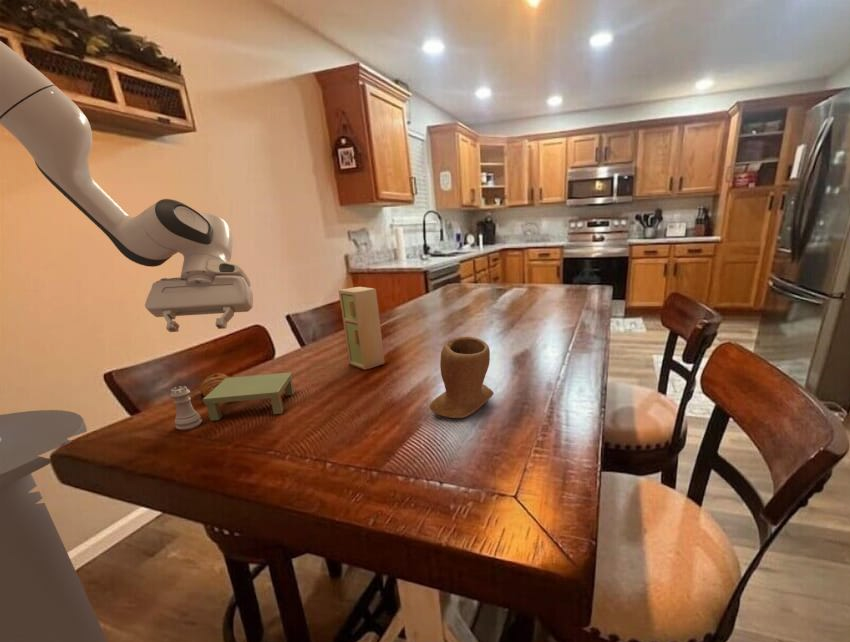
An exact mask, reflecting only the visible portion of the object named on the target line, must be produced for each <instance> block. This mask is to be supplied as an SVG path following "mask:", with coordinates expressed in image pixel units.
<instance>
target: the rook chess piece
mask: <svg viewBox="0 0 850 642" xmlns="http://www.w3.org/2000/svg"><path fill="white" fill-rule="evenodd" d="M190 392H191V390H190V389H189V388H188V387H187V386H186V385H183V386H182V385H181V386H178V388H177V387H176V386H175V387H173V388H171V389H170V394H169V396H170V397H171V398H172V399H173V404H174V405H175V409H176V411H175V412H176V415H175V418H174V424H175V426H174V427H175V428H176V429H177V430H179V431H188V430H189V431H190V430H193V429H195V428H198V427H199V426H201V424H202V422H203V419H202V418H201V417H202V416H201V415H200V413H198V412H197V411H196V410H195V409H194V406H193V405H192V401H191V397H190V396H189V395H190Z"/></svg>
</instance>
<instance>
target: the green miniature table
mask: <svg viewBox="0 0 850 642" xmlns="http://www.w3.org/2000/svg"><path fill="white" fill-rule="evenodd" d="M229 377H230V376H229ZM293 381H294V380H293V372H292V371H291V372H290V371H289V372H278V373H268V374H267V373H266V374H256V375H243V376H242V375H241V376H231V377H230V378H226V379H225V380H223V381H222V382H221V383H220V384H219V385H218V386H217V387H216V388H215V389H213V390H212V391H211V392H210V393H209V394H208V395H207V396H206V397H205V396H204V397H203V398H202V401H203V405H206V409H207V414H208V417H209V421H211V422H215V421H220V420H221V418H223V415H222V412H221V408H220V404H223V403H232V402H233V403H234V402H235V403H236V402H244V401H253V400H254V401H255V400H265V399H266V400H267V399H270V403H271V408H272V414H273V415H282V414H283V412H284V405H283V401H282V396H281V395H282V394H283V392H284V393H285V396H286V397H287V396H294V394H295V387H294V383H293Z"/></svg>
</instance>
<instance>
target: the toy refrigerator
mask: <svg viewBox="0 0 850 642" xmlns="http://www.w3.org/2000/svg"><path fill="white" fill-rule="evenodd" d="M338 296H339V301H340V302H339V304H340V308H341V315H342V322H343V329H344V336H345V344H346V349H347V350H346V351H347V356H348V363H349V365H351V366H353V367H356V368H359V369H361V370H364V371H366V370H369V369H372V368H375V367H379V366H381V365H385V363H386V362H385V353H384V352H385V351H384V345H383V337H382V327H381V321H380V320H381V319H380V312H379V303H378V302H379V301H378V295H377V289H376V288H373V287H365V286H354V287H348V288H342V289H338Z"/></svg>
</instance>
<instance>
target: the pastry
mask: <svg viewBox="0 0 850 642" xmlns="http://www.w3.org/2000/svg"><path fill="white" fill-rule="evenodd" d="M226 378H230V376H229V375H226V374H224V373H213V374H211V375H209V376H206V377H205V379H203V381H202V383H201V384H200V387H199V390H200V393H201V394H202V395H203V396H204V398H205V397H206V396H207V395H208V394H209V393H210V392H211V391H212V390H213V389H215V388H216V387H217V386H218V385H219V384H220V383H221V382H222V381H223V380H225V379H226Z"/></svg>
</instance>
